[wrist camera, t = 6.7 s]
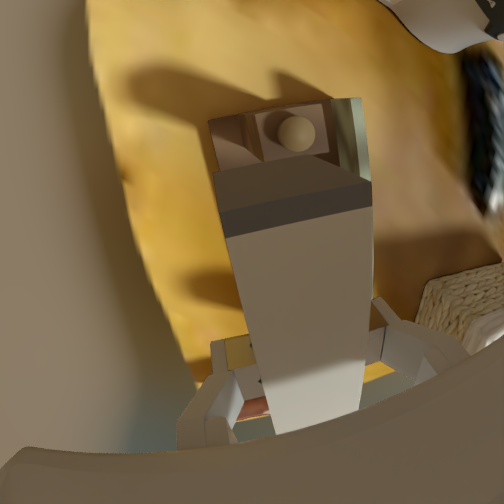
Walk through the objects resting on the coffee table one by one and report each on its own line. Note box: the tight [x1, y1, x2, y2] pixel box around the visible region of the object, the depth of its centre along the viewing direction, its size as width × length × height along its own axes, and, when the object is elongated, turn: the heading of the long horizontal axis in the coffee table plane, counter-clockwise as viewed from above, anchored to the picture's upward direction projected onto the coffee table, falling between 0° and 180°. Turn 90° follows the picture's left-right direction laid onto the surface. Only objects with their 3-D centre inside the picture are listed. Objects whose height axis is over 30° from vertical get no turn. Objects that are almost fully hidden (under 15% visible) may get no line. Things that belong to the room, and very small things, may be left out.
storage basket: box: [414, 263, 504, 356], centre depth 34 cm, size 24×16×15 cm
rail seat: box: [208, 98, 374, 299], centre depth 25 cm, size 23×12×11 cm, turn 12°
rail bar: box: [213, 154, 373, 435], centre depth 11 cm, size 12×4×4 cm, turn 10°
